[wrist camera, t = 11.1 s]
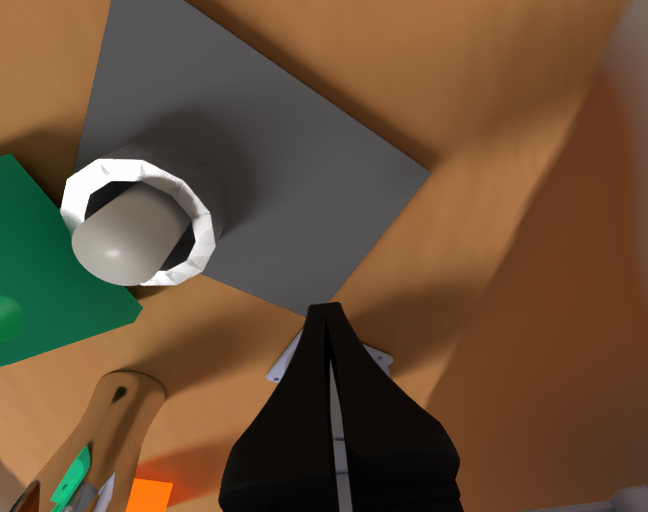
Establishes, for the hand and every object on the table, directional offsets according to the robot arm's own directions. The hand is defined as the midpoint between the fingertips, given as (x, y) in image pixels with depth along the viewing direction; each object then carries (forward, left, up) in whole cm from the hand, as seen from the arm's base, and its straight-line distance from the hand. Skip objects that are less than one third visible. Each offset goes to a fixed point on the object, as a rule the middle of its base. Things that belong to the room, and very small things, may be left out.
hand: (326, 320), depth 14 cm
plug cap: (+9, +3, -8) cm, 13 cm away
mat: (+5, 0, -9) cm, 11 cm away
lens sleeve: (+9, +3, -9) cm, 13 cm away
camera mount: (+15, +11, -10) cm, 21 cm away
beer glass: (+6, +24, -10) cm, 27 cm away
